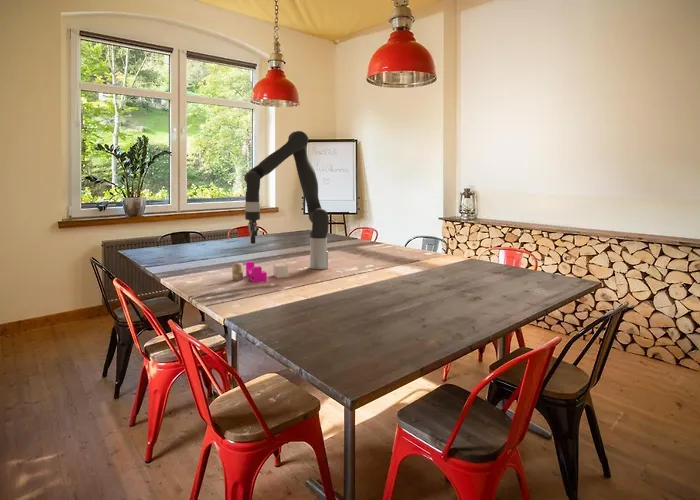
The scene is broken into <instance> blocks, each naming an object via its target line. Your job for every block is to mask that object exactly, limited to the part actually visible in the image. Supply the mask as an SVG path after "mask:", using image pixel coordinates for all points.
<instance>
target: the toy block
mask: <svg viewBox="0 0 700 500" xmlns="http://www.w3.org/2000/svg"><path fill="white" fill-rule="evenodd" d="M262 269H263V268H262V266H260V265H257V266H255V262H254V261H246V262H245V277H247V278H248V279H249V280H250V279H251V280H250V281H252V282H253V283H254V284H255V283H263V282H268V281H267V280H268V277H267V275H268V274H267V272H266V271H265V270H262Z"/></svg>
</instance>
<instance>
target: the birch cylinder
mask: <svg viewBox="0 0 700 500" xmlns="http://www.w3.org/2000/svg"><path fill="white" fill-rule="evenodd" d="M243 266H244V263H242V262H233V263H232V264H231V268H232V269H231V273H232V274H231V275H232V281H233V282H241V281H243V280H244V273H243V272H244V270H243V268H244V267H243Z"/></svg>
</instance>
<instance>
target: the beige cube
mask: <svg viewBox="0 0 700 500" xmlns="http://www.w3.org/2000/svg"><path fill="white" fill-rule="evenodd" d="M272 265H273V276H274V277H275V278H277V279H278V278H279V279H281V278H289V265H288V264H287V263H285V262H283V263H274V264H272Z"/></svg>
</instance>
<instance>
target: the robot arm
mask: <svg viewBox="0 0 700 500" xmlns="http://www.w3.org/2000/svg"><path fill="white" fill-rule="evenodd" d="M288 135H289V136H288V140H287V142H286V143H284V144H283V145H282V146H281V147H280V148H278V149H277V150H275V151H273V152H272V153H271V154H269V155H268V156H266V157H265V158H263V160H261V161H260V162H259V163H258V164H257V165H255V166H254V167H253V168H251V169H250V170H248V171H247V172H246V173H245V175H244V182H245V183H246V191H245V196H244V197H245V203H244V204H245V205H244V215H245V216H244V218H245V220H246V221H248V223H247V229H248V235H249V237H250V244H252V245H253V244H256V237H257V235H258V230H259V227H258V223H257V221H260V220H261V206H260V205H261V204H260V188H261V179H262V178H263V177H265V176H267V175H269V174H270V173H271V172H273V171H274V170H276V168H277V167H279V166H280V165H282V163H283V162H285V160H286V159H288V158H290V156H293V160H294V162H295V168H296V172H297V175H298V176H297V177H298V180H299V183H300V184H299V185H300V188H301V191H302V193H303V197H304V199H305V202H306V208H307V213H308V214H307V215H308V219H309V221H310V223H312V225H311V231H310V233H309V234H310V235H309V236H310V238H309V239H310V242H309V243H310V247H309V248H310V249H309V255H310V256H309V258H310V259H309V260H310V262H309V267H310V269H312V270H325V269H328V268H329V251H328V233H329V223H330V222H329V220H330V219H329V214H328V212H327V211H326V210H325V209H323V208H322V205H321V201H320V200H319V181H318V177H317V175H316V171H315V168H314V167H313V165H312V163H311V160H310V159H309V157H308V154H307V149H306V147H307V145H308V143H309V136H308V135H307V133H306V132H305V131H302V130H296V131H293V132H291V133H290V134H288Z"/></svg>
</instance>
